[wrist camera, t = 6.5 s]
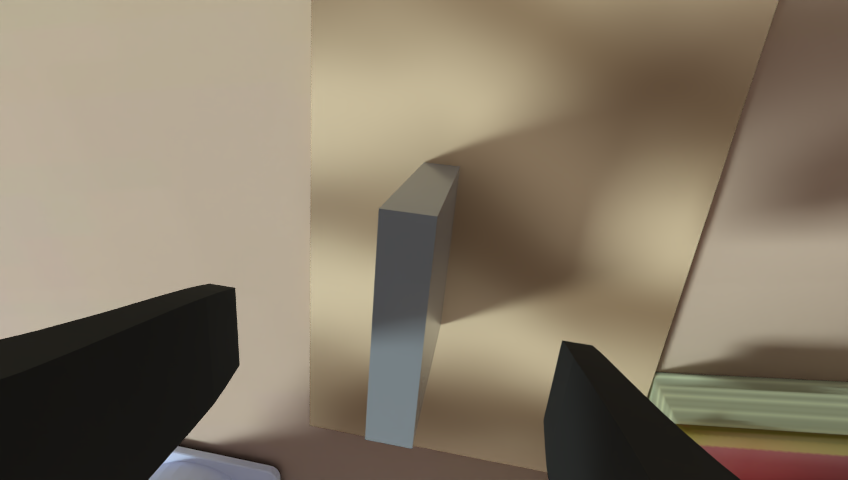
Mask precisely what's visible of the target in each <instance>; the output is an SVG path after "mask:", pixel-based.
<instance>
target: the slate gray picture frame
mask: <svg viewBox="0 0 848 480" xmlns="http://www.w3.org/2000/svg"><path fill="white" fill-rule="evenodd" d="M459 171H460V166H452V165H444V164H436V163H427V162H424V163H423V164H422V165H421V166H420V167H419V168H418V169H417V170H416V171H415V172H414V173H413V174H412V175H411V176H410V177H409V178H408V179H407V180H406V181H405V182H404V183H403V184H402V185H401V186H400V187H399V188H398V189H397V190H396V191H395V192H394V193H393V194H392V195H391V197H390V198H389V199H388V200H387V201H386V202H385V203H384V204H383V205H382V206H381V207H380V208H379V213H378V230H377V247H376V263H375V280H374V297H373V314H372V331H371V347H370V364H369V381H368V398H367V415H366V431H365V440H370V441H375V442H380V443H385V444H390V445H395V446H400V447H405V448H411V449H412V447H413V443H414V439H415V434H416V430H417V426H418V421H419V417H420V413H421V408H422V404H423V400H424V395H425V391H426V387H427V382H428V378H429V374H430V369H431V365H432V361H433V356H434V352H435V348H436V343H437V339H438V335H439V330H440V326H441V319H442V311H443V302H444V294H445V286H446V278H447V270H448V261H449V253H450V245H451V237H452V229H453V221H454V212H455V204H456V196H457V188H458V180H459Z"/></svg>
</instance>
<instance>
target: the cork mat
mask: <svg viewBox="0 0 848 480" xmlns="http://www.w3.org/2000/svg"><path fill="white" fill-rule="evenodd" d="M778 1H779V0H311V220H310V426H314V427H320V428H325V429H330V430H335V431H340V432H345V433H350V434H355V435H360V436H365V431H366V415H367V398H368V381H369V364H370V347H371V331H372V314H373V297H374V280H375V263H376V247H377V230H378V213H379V208H380V207H381V206H382V205H383V204H384V203H385V202H386V201H387V200H388V199H389V198H390V197H391V195H392V194H393V193H394V192H395V191H396V190H397V189H398V188H399V187H400V186H401V185H402V184H403V183H404V182H405V181H406V180H407V179H408V178H409V177H410V176H411V175H412V174H413V173H414V172H415V171H416V170H417V169H418V168H419V167H420V166H421V165H422V164H423V163H424V162H427V163H436V164H444V165H452V166H460V171H459V180H458V188H457V196H456V204H455V212H454V221H453V229H452V237H451V245H450V253H449V261H448V270H447V278H446V286H445V294H444V302H443V311H442V319H441V326H440V330H439V335H438V339H437V343H436V348H435V352H434V356H433V361H432V365H431V369H430V374H429V378H428V382H427V387H426V391H425V395H424V400H423V404H422V408H421V413H420V417H419V421H418V426H417V430H416V434H415V439H414V443H413V446H416V447H421V448H426V449H431V450H436V451H441V452H446V453H451V454H456V455H461V456H466V457H471V458H477V459H482V460H487V461H492V462H497V463H502V464H507V465H512V466H517V467H522V468H527V469H532V470H537V471H542V472H547V468H546V455H545V440H544V422H543V420H544V415H545V411H546V407H547V403H548V398H549V394H550V390H551V386H552V381H553V377H554V373H555V368H556V364H557V360H558V356H559V351H560V347H561V343H562V340H563V341H569V342H575V343H581V344H587V345H593V346H594V347H595V348H596V349H597V350H599V351H600V352H601V353H602V354H603V355H604V356H605V357H606V358H607V359H608V360H609V361H610V362H611V363H612V364H613V365H614V366H615V367H616V368H617V369H618V370H619V371H620V372H621V373H622V374H623V375H624V376H625V377H626V378H627V379H628V380H629V381H630V382H632V383H633V384H634V385H635V386H636V387H637V388H638V389H639V390H640V391H641V392H642V393H643V394H644V395H645V396H646V397H647V395H648V392H649V389H650V386H651V383H652V380H653V377H654V374H655V371H656V368H657V365H658V362H659V359H660V356H661V353H662V350H663V347H664V344H665V341H666V338H667V335H668V332H669V329H670V326H671V323H672V320H673V317H674V314H675V311H676V308H677V305H678V302H679V299H680V296H681V293H682V290H683V287H684V284H685V281H686V278H687V275H688V272H689V269H690V266H691V263H692V260H693V257H694V254H695V251H696V248H697V245H698V242H699V239H700V236H701V233H702V230H703V227H704V224H705V221H706V218H707V215H708V212H709V209H710V206H711V203H712V200H713V197H714V194H715V191H716V188H717V185H718V182H719V179H720V176H721V173H722V170H723V167H724V164H725V161H726V158H727V155H728V152H729V149H730V146H731V143H732V140H733V137H734V134H735V131H736V128H737V125H738V122H739V119H740V116H741V113H742V110H743V107H744V104H745V101H746V98H747V95H748V92H749V89H750V86H751V83H752V80H753V76H754V73H755V70H756V67H757V64H758V61H759V58H760V55H761V52H762V49H763V46H764V43H765V40H766V37H767V34H768V31H769V28H770V25H771V22H772V19H773V16H774V13H775V10H776V7H777V4H778Z"/></svg>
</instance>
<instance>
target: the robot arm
mask: <svg viewBox="0 0 848 480" xmlns="http://www.w3.org/2000/svg"><path fill="white" fill-rule="evenodd" d="M238 367H239V348H238V330H237V313H236V295H235V288H233V287H226V286H220V285H214V284H206V285H200V286H196V287H191V288H187V289H183V290H179V291H176V292H172V293H169V294H165V295H162V296H158V297H155V298H151V299H148V300H145V301H141V302H138V303H134V304H131V305H128V306H124V307H121V308H118V309H114V310H111V311H107V312H104V313H101V314H97V315H93V316H90V317H86V318H82V319H78V320H75V321H71V322H67V323H64V324H60V325H56V326H53V327H49V328H45V329H42V330H38V331H34V332H30V333H26V334H22V335H18V336H13V337H9V338H5V339H0V480H280V473H279V471H278V470H277V469H276V468H275V467H273V466H270V465H265V464H261V463H256V462H251V461H247V460H242V459H237V458H232V457H228V456H223V455H218V454H213V453H209V452H204V451H199V450H194V449H190V448H185V447H180V446H178V445H179V444H180V443H181V442H182V441H183V440H184V438H185V437H186V436H187V435H188V434H189V433H190V431H191V430H192V429H193V428H194V427H195V426H196V424H197V423H198V422H199V421H200V420H201V419H202V417H203V416H204V415H205V414H206V413H207V412H208V410H209V409H210V408H211V407H212V406H213V404H214V403H215V402H216V400H217V399H218V397H219V396H220V394H221V393H222V391H223V390H224V389H225V387H226V386H227V384H228V382H229V381H230V379H231V378H232V376H233V374H234V373H235V371H236V370H237V368H238ZM543 422H544V440H545V455H546V468H547V473H548V479H549V480H740V479H739V478H738V477H737V476H735V475H734V474H733V473H732V472H731V471H729V470H728V469H727V468H726V467H724V466H723V465H722V464H721V463H719V462H718V461H717V460H716V459H715V458H714V457H712V456H711V455H710V454H709V453H708V452H707V451H705V450H704V449H703V448H702V447H701V446H700V445H699V444H697V443H696V442H695V441H694V440H693V439H692V438H690V437H689V436H688V435H687V434H686V433H685V432H684V431H682V430H681V429H680V428H679V427H678V426H677V425H676V424H675V423H674V422H673V421H671V420H670V419H669V418H668V417H667V416H666V415H665V414H664V413H663V412H662V411H661V410H660V409H658V408H657V407H656V406H655V405H654V404H653V403H652V402H651V401H650V400H649V399H648V398H647V397H646V396H645V395H644V394H643V393H642V392H641V391H640V390H639V389H638V388H637V387H636V386H635V385H634V384H633V383H632V382H630V381H629V380H628V379H627V378H626V377H625V376H624V375H623V374H622V373H621V372H620V371H619V370H618V369H617V368H616V367H615V366H614V365H613V364H612V363H611V362H610V361H609V360H608V359H607V358H606V357H605V356H604V355H603V354H602V353H601V352H600V351H599V350H597V349H596V348H595V347H594V346H593V345H587V344H581V343H575V342H569V341H563V340H562V343H561V347H560V351H559V356H558V360H557V364H556V368H555V373H554V377H553V381H552V386H551V390H550V394H549V398H548V403H547V407H546V411H545V415H544V420H543Z"/></svg>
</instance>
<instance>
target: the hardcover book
mask: <svg viewBox="0 0 848 480" xmlns="http://www.w3.org/2000/svg"><path fill="white" fill-rule="evenodd" d="M648 399H649V400H650V401H651V402H652V403H653V404H654V405H655V406H656V407H657V408H658V409H660V410H661V411H662V412H663V413H664V414H665V415H666V416H667V417H668V418H669V419H670V420H671V421H673V422H674V423H675V424H676V425H677V426H678V427H679V428H680V429H681V430H682V431H684V432H685V433H686V434H687V435H688V436H689V437H690V438H692V439H693V440H694V441H695V442H696V443H697V444H699V445H700V446H701V447H702V448H703V449H704V450H705V451H707V452H708V453H709V454H710V455H711V456H712V457H714V458H715V459H716V460H717V461H718V462H719V463H721V464H722V465H723V466H724V467H726V468H727V469H728V470H729V471H731V472H732V473H733V474H734V475H735V476H737V477H738V478H739V479H740V480H848V382H839V381H819V380H799V379H779V378H760V377H740V376H720V375H700V374H680V373H660V372H655V374H654V377H653V380H652V383H651V386H650V389H649V392H648Z"/></svg>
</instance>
